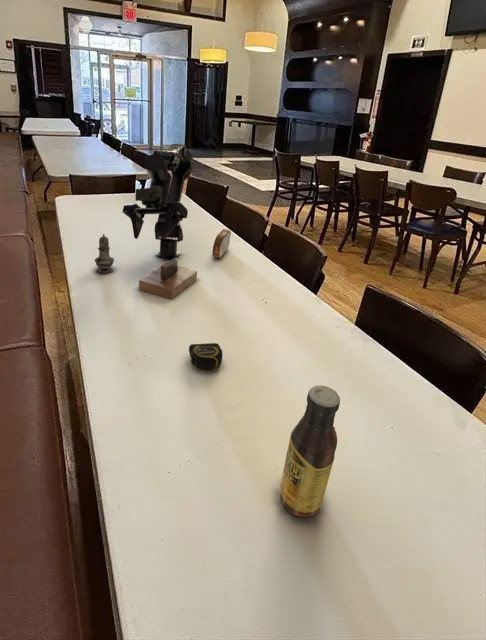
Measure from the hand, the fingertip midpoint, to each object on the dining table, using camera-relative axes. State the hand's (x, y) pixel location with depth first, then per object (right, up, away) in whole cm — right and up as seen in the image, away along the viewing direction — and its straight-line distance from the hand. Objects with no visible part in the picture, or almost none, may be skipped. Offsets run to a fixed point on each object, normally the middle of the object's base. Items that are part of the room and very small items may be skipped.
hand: (149, 238), depth 117 cm
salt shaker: (-16, -10, +13) cm, 23 cm away
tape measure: (+17, -28, -27) cm, 43 cm away
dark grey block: (+5, -11, +6) cm, 13 cm away
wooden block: (+5, -14, +7) cm, 16 cm away
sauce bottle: (+32, -41, -56) cm, 77 cm away
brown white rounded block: (+20, -5, +34) cm, 39 cm away
